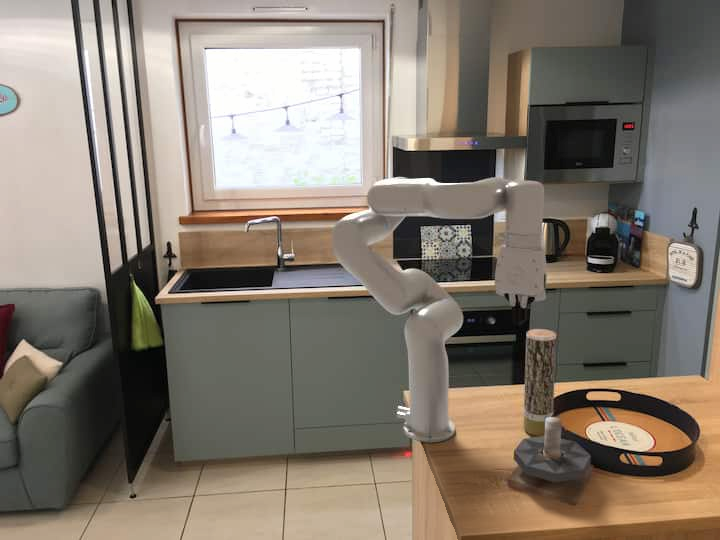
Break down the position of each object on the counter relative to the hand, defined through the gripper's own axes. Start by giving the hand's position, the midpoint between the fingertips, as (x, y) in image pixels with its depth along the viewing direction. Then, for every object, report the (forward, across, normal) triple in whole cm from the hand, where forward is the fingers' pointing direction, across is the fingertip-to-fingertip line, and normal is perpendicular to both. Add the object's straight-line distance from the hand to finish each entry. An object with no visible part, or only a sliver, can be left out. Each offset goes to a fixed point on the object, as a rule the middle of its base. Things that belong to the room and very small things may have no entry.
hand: (519, 323), depth 139 cm
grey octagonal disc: (+27, +10, -6) cm, 30 cm away
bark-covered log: (+32, +2, +13) cm, 34 cm away
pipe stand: (+31, +11, -6) cm, 33 cm away
